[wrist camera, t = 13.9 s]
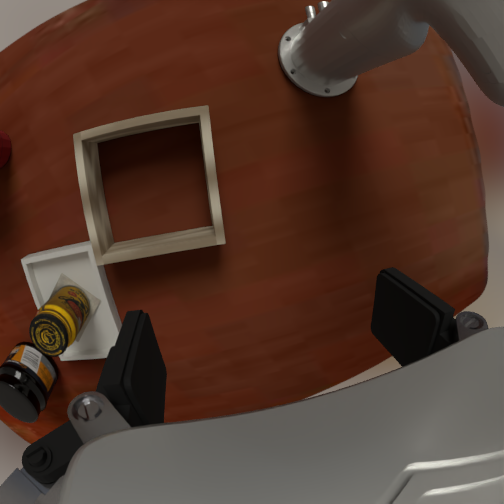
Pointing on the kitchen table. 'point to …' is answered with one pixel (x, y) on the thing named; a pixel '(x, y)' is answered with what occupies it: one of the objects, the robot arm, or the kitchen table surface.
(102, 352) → the tray
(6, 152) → the plastic cup
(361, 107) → the kitchen table surface
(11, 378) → the supplement container
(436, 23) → the robot arm
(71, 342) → the condiment
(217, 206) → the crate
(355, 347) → the kitchen table surface
